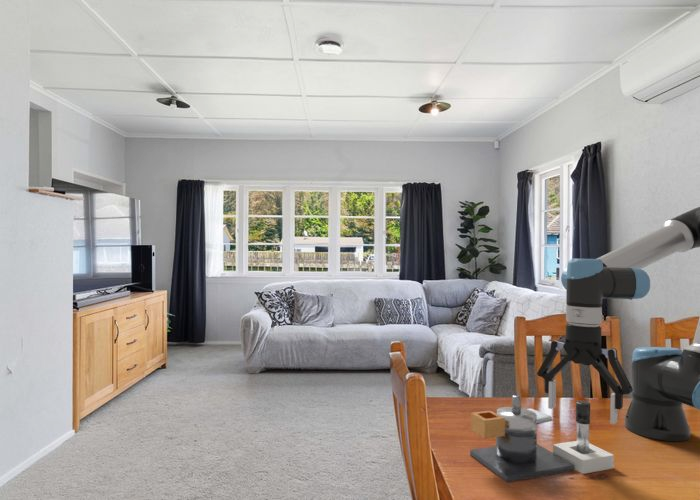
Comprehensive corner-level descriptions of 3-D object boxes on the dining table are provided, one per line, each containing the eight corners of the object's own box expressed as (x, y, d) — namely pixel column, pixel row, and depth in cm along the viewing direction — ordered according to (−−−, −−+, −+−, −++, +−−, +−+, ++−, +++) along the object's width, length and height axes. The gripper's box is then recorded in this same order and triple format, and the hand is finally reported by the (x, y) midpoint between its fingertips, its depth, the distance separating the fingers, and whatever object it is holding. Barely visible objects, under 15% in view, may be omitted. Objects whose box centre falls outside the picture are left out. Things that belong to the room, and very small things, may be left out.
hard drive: (521, 422, 131) (552, 415, 137) (500, 413, 138) (529, 407, 144) (521, 428, 131) (552, 421, 137) (500, 419, 138) (529, 412, 144)
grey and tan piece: (519, 420, 116) (519, 389, 116) (545, 433, 107) (545, 400, 107) (466, 427, 111) (466, 394, 111) (489, 441, 102) (489, 406, 102)
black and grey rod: (582, 458, 111) (583, 400, 111) (592, 464, 108) (593, 404, 108) (572, 460, 110) (573, 401, 110) (582, 466, 107) (583, 405, 107)
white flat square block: (582, 451, 114) (582, 439, 114) (613, 468, 106) (613, 455, 106) (553, 456, 112) (553, 444, 112) (582, 473, 103) (582, 460, 103)
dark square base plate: (531, 445, 118) (531, 418, 118) (574, 470, 105) (574, 439, 105) (470, 454, 112) (470, 425, 112) (507, 482, 99) (507, 449, 99)
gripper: (524, 319, 115) (522, 405, 115) (640, 333, 97) (638, 434, 97) (537, 316, 120) (535, 398, 120) (649, 329, 103) (647, 425, 103)
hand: (581, 414), depth 109 cm, fingers open, 13 cm apart
